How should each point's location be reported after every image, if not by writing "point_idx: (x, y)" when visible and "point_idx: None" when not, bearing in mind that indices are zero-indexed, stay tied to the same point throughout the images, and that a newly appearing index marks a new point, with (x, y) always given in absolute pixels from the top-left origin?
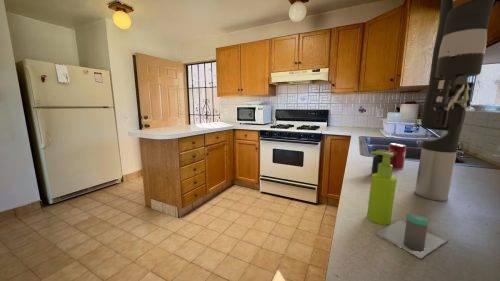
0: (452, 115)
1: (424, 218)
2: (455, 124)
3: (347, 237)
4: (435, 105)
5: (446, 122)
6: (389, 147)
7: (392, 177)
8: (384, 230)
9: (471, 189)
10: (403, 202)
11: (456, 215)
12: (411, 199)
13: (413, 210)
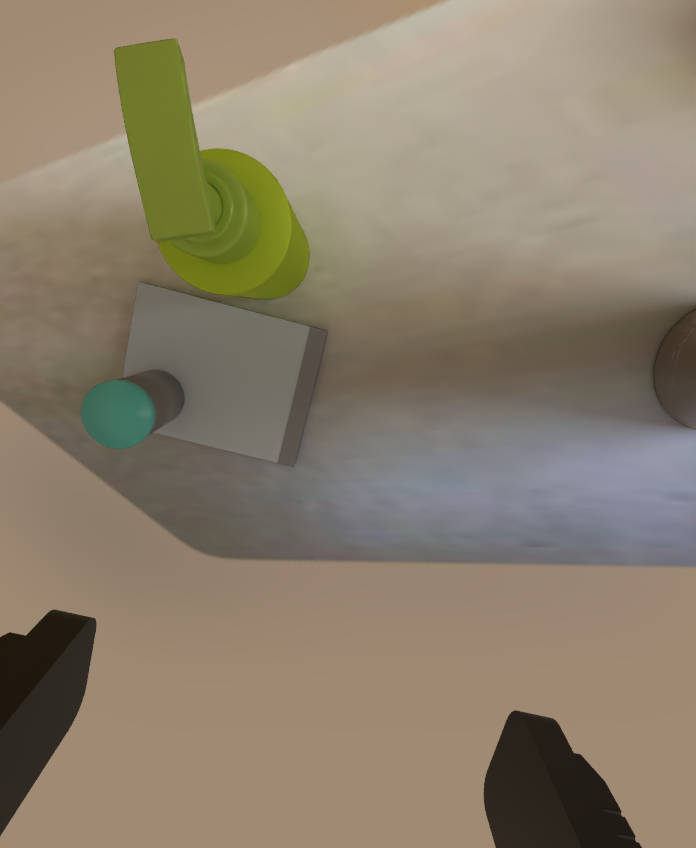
0: (559, 834)
1: (136, 434)
2: (493, 756)
3: (34, 214)
4: None
5: (44, 755)
6: None
7: (228, 271)
8: (176, 302)
9: None
10: (527, 290)
11: (541, 469)
12: (594, 310)
13: (466, 341)
